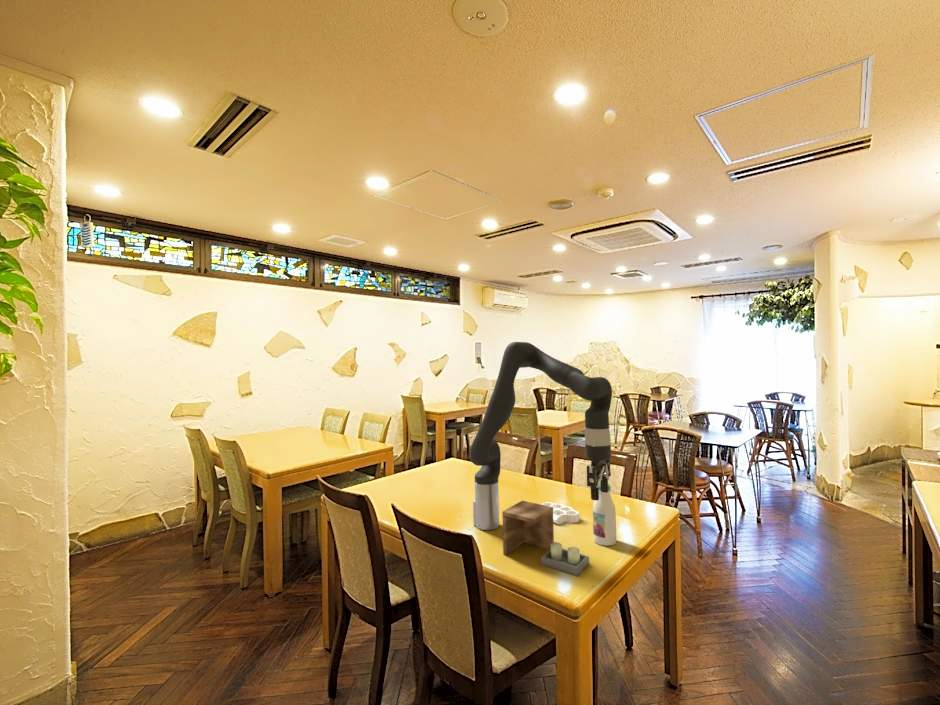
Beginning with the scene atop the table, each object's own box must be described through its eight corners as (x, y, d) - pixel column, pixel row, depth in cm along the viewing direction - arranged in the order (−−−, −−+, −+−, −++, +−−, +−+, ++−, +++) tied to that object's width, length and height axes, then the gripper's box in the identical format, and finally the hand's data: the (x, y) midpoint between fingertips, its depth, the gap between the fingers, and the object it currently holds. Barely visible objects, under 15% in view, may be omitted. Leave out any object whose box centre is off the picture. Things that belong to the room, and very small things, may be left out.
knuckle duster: (528, 515, 174) (552, 507, 183) (562, 528, 160) (586, 519, 168) (528, 507, 174) (552, 499, 183) (562, 520, 160) (586, 510, 169)
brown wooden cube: (503, 554, 139) (502, 511, 139) (523, 540, 149) (522, 500, 149) (535, 564, 132) (534, 519, 132) (553, 549, 142) (552, 507, 142)
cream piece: (566, 566, 129) (565, 550, 129) (571, 561, 132) (570, 545, 132) (577, 569, 127) (576, 553, 127) (581, 565, 130) (581, 549, 130)
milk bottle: (611, 536, 151) (610, 481, 151) (620, 546, 143) (618, 487, 144) (590, 537, 151) (589, 481, 151) (597, 546, 143) (596, 488, 143)
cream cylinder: (548, 561, 133) (548, 545, 133) (553, 556, 136) (553, 541, 136) (559, 564, 131) (558, 548, 131) (564, 559, 134) (563, 544, 134)
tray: (541, 565, 132) (541, 556, 132) (554, 555, 139) (554, 546, 139) (577, 577, 124) (577, 568, 124) (589, 565, 131) (588, 556, 131)
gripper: (593, 437, 136) (595, 488, 136) (577, 445, 124) (579, 500, 124) (617, 439, 132) (619, 491, 131) (602, 447, 120) (604, 504, 120)
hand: (599, 495), depth 128 cm, fingers open, 8 cm apart
